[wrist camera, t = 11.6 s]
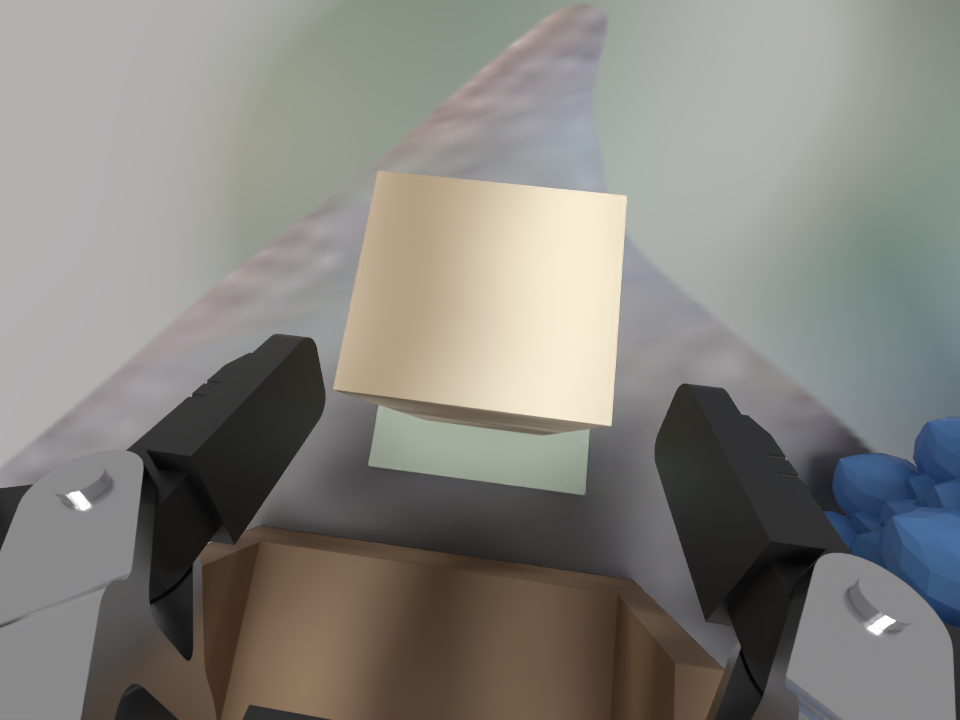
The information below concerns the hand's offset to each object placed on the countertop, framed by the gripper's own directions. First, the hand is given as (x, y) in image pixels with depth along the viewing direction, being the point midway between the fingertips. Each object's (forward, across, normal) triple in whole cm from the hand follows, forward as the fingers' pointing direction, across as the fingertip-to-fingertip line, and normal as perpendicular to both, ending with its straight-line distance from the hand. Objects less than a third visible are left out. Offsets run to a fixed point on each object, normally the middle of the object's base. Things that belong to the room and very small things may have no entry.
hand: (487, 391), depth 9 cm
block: (+7, 0, +5) cm, 8 cm away
